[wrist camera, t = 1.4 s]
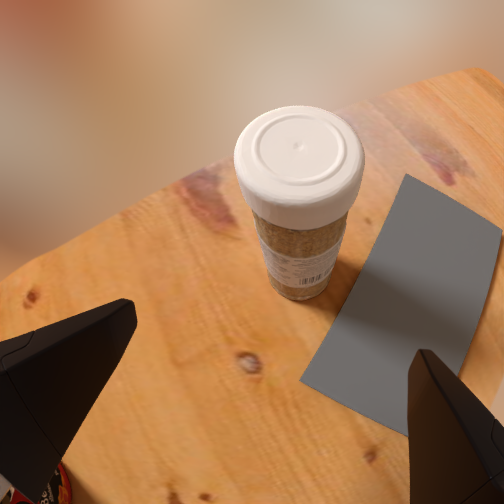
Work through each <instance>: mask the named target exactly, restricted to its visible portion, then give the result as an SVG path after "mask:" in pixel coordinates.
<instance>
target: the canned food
mask: <svg viewBox="0 0 504 504" xmlns="http://www.w3.org/2000/svg"><path fill="white" fill-rule="evenodd" d="M7 495H8V496H9V498H10V504H34V503H33V502H31V501H30V500H29V499H27V498H26V497H25V496H23V495H22V494H21V493H20V492H18V491H17V490H16V489H15V488H13V487H11V488H10V490H9V491H8V492H7ZM71 496H72V495H71V487H70V483H69V480H68V477H67V475H66V473H65V471H64V469H63V467H62V465H61V464H60V463H59V465H58V467H57V469H56V470H55V472H54V474H53V476H52V478H51V480H50V481H49V483H48V485H47V487H46V489H45V491H44V493H43V494H42V496H41V498H40V500H39V502H38V503H37V504H70V502H71Z"/></svg>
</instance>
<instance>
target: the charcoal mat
mask: <svg viewBox="0 0 504 504" xmlns="http://www.w3.org/2000/svg"><path fill="white" fill-rule="evenodd" d="M501 235H502V229H500V228H499V227H497V226H496V225H494V224H492V223H491V222H489V221H488V220H486V219H485V218H483V217H482V216H480V215H478V214H477V213H475V212H474V211H472V210H470V209H469V208H467V207H465V206H464V205H462V204H460V203H459V202H457V201H455V200H454V199H452V198H450V197H448V196H447V195H445V194H443V193H441V192H440V191H438V190H436V189H434V188H432V187H431V186H429V185H427V184H425V183H423V182H421V181H419V180H418V179H416V178H414V177H412V176H410V175H408V174H405V177H404V179H403V181H402V184H401V186H400V188H399V191H398V193H397V195H396V198H395V200H394V202H393V205H392V207H391V209H390V211H389V214H388V216H387V218H386V220H385V223H384V225H383V227H382V229H381V231H380V233H379V235H378V238H377V240H376V242H375V244H374V246H373V248H372V250H371V252H370V254H369V256H368V258H367V260H366V262H365V264H364V266H363V268H362V270H361V272H360V274H359V276H358V278H357V280H356V282H355V284H354V286H353V288H352V290H351V292H350V293H349V295H348V297H347V299H346V301H345V303H344V305H343V307H342V308H341V310H340V312H339V314H338V316H337V317H336V319H335V321H334V323H333V325H332V326H331V328H330V330H329V332H328V333H327V335H326V337H325V339H324V340H323V342H322V344H321V345H320V347H319V349H318V351H317V352H316V354H315V356H314V357H313V359H312V361H311V362H310V364H309V365H308V367H307V369H306V370H305V372H304V374H303V375H302V377H301V378H300V380H299V381H301V382H303V383H304V384H306V385H308V386H310V387H311V388H313V389H315V390H317V391H319V392H321V393H322V394H324V395H326V396H328V397H330V398H332V399H333V400H335V401H337V402H339V403H341V404H343V405H345V406H347V407H349V408H350V409H352V410H354V411H356V412H358V413H360V414H362V415H364V416H366V417H368V418H370V419H372V420H374V421H376V422H378V423H380V424H382V425H384V426H386V427H388V428H391V429H393V430H395V431H397V432H399V433H401V434H403V435H405V436H408V425H407V398H408V370H409V367H410V365H411V363H412V361H413V358H414V356H415V354H416V352H417V350H418V349H430V350H432V351H433V352H434V353H435V354H436V355H437V356H438V357H439V358H440V359H441V360H442V361H443V362H444V363H445V364H446V365H447V366H448V367H449V368H450V369H451V371H452V372H453V373H454V374H455V375H456V376H457V375H458V373H459V371H460V368H461V366H462V364H463V361H464V359H465V356H466V354H467V351H468V349H469V346H470V344H471V341H472V338H473V336H474V333H475V330H476V327H477V325H478V322H479V319H480V316H481V313H482V309H483V306H484V303H485V300H486V297H487V293H488V290H489V286H490V282H491V279H492V275H493V271H494V267H495V263H496V259H497V254H498V250H499V245H500V240H501Z"/></svg>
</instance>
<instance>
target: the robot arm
mask: <svg viewBox="0 0 504 504" xmlns="http://www.w3.org/2000/svg"><path fill="white" fill-rule="evenodd" d="M136 327H137V316H136V310H135V305H134V302H133V301H132V300H128V299H124V298H121V299H118V300H116V301H113V302H110V303H107V304H105V305H102V306H99V307H97V308H94V309H91V310H88V311H86V312H83V313H80V314H78V315H75V316H72V317H69V318H67V319H64V320H61V321H59V322H56V323H53V324H50V325H48V326H45V327H42V328H40V329H37V330H35V331H31V332H29V333H26V334H23V335H20V336H17V337H14V338H11V339H8V340H5V341H1V342H0V504H10V498H9V496H8V495H7V492H8V491H9V490H10V488H11V487H13V488H15V489H16V490H17V491H18V492H20V493H21V494H22V495H23V496H25V497H26V498H27V499H29V500H30V501H31V502H33V503H34V504H37V503H38V502H39V500H40V498H41V496H42V494H43V493H44V491H45V489H46V487H47V485H48V483H49V481H50V480H51V478H52V476H53V474H54V472H55V470H56V469H57V467H58V465H59V463H60V461H61V460H62V457H63V456H64V454H65V452H66V450H67V449H68V447H69V445H70V443H71V442H72V440H73V438H74V436H75V435H76V433H77V431H78V430H79V428H80V426H81V424H82V423H83V421H84V419H85V418H86V416H87V414H88V413H89V411H90V409H91V408H92V406H93V404H94V403H95V401H96V399H97V398H98V396H99V394H100V393H101V391H102V390H103V388H104V386H105V385H106V383H107V381H108V380H109V378H110V377H111V375H112V373H113V372H114V370H115V369H116V367H117V365H118V363H119V362H120V360H121V358H122V356H123V354H124V352H125V350H126V348H127V346H128V344H129V342H130V340H131V338H132V335H133V333H134V331H135V329H136ZM407 425H408V440H409V463H410V504H504V427H503V426H502V425H501V423H500V422H499V421H498V420H497V419H495V417H494V416H493V415H492V414H491V412H490V411H489V410H488V409H487V408H486V407H485V406H484V405H483V404H482V402H481V401H480V400H479V399H478V398H477V397H476V396H475V395H474V394H473V393H472V392H471V391H470V389H469V388H468V387H467V386H466V385H465V384H464V383H463V382H462V381H461V380H460V379H459V378H458V377H457V376H456V375H455V374H454V373H453V372H452V371H451V369H450V368H449V367H448V366H447V365H446V364H445V363H444V362H443V361H442V360H441V359H440V358H439V357H438V356H437V355H436V354H435V353H434V352H433V351H432V350H430V349H418V350H417V352H416V354H415V356H414V358H413V361H412V363H411V365H410V367H409V370H408V398H407Z"/></svg>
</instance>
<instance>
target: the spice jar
mask: <svg viewBox="0 0 504 504" xmlns="http://www.w3.org/2000/svg"><path fill="white" fill-rule="evenodd" d="M234 165H235V170H236V174H237V178H238V182H239V185H240V188H241V192H242V194H243V197H244V199H245V201H246V202H247V204H248V205H249V206H250V208H251V209H252V212H253V216H254V223H255V228H256V231H257V235H258V238H259V242H260V245H261V249H262V253H263V256H264V260H265V263H266V266H267V271H268V276H269V280H270V283H271V285H272V286H273V288H274V289H275V290H276V291H277V292H278V293H279V294H280V295H282V296H284V297H286V298H289V299H292V300H306V299H310V298H312V297H314V296H317V295H318V294H320V293H321V292H322V291H323V290H324V289H325V288H326V286H327V285H328V282H329V280H330V278H331V274H332V269H333V267H334V264H335V261H336V258H337V255H338V252H339V249H340V246H341V243H342V239H343V236H344V233H345V229H346V224H347V223H346V219H347V215H348V211H349V209H350V208H351V206H352V205H353V203H354V201H355V199H356V197H357V195H358V192H359V188H360V184H361V181H362V176H363V171H364V165H365V154H364V148H363V146H362V143H361V141H360V138H359V137H358V135H357V133H356V132H355V131H354V129H353V128H352V127H351V126H350V125H349V124H348V123H347V122H346V121H344V120H343V119H342V118H340V117H339V116H337V115H335V114H333V113H331V112H329V111H326V110H323V109H320V108H316V107H310V106H287V107H281V108H277V109H274V110H272V111H269V112H266V113H264V114H262V115H260V116H259V117H257V118H256V119H255V120H253V121H252V122H251V123H250V124H249V125H248V126H247V127H246V128H245V129H244V131H243V132H242V133H241V135H240V137H239V139H238V141H237V144H236V147H235V151H234Z"/></svg>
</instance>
